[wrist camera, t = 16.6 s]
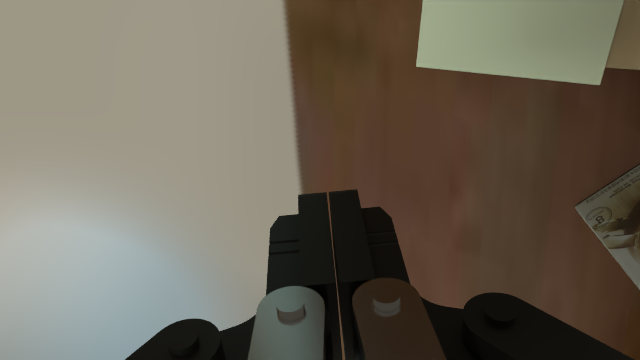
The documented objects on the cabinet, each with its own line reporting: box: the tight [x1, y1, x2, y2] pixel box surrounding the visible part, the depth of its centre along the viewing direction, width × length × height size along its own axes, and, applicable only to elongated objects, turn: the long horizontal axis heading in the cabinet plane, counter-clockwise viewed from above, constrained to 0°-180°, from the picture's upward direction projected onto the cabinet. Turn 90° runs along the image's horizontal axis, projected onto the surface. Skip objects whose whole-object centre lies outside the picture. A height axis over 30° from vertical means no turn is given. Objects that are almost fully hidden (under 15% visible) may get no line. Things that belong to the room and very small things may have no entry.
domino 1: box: [416, 0, 624, 85], centre depth 30 cm, size 2×5×10 cm
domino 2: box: [605, 0, 640, 70], centre depth 30 cm, size 2×5×10 cm
